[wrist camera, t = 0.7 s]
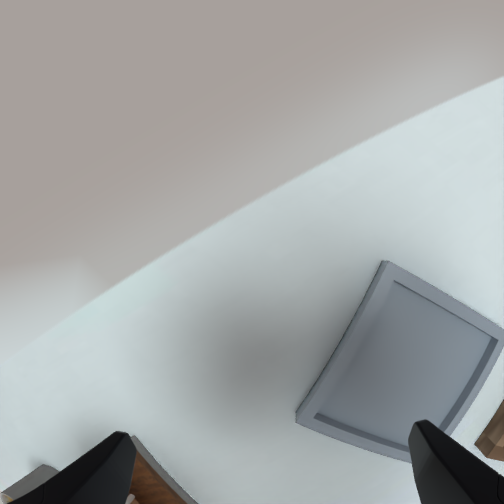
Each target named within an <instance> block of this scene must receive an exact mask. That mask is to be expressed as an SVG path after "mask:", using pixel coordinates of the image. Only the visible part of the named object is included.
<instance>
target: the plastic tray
mask: <svg viewBox="0 0 504 504" xmlns="http://www.w3.org/2000/svg"><path fill="white" fill-rule="evenodd" d="M503 347H504V329H502V328H501V327H499V326H498V325H496V324H495V323H493V322H491V321H490V320H488V319H487V318H485V317H484V316H482V315H480V314H479V313H477V312H476V311H474V310H472V309H471V308H469V307H467V306H466V305H464V304H462V303H461V302H459V301H458V300H456V299H454V298H453V297H451V296H449V295H448V294H446V293H444V292H442V291H441V290H439V289H437V288H436V287H434V286H432V285H431V284H429V283H427V282H425V281H424V280H422V279H420V278H418V277H417V276H415V275H413V274H411V273H410V272H408V271H406V270H404V269H402V268H401V267H399V266H397V265H395V264H393V263H392V262H390V261H382V262H381V264H380V266H379V269H378V271H377V273H376V275H375V277H374V279H373V281H372V283H371V285H370V287H369V289H368V291H367V293H366V295H365V297H364V299H363V301H362V303H361V305H360V307H359V308H358V310H357V312H356V314H355V316H354V318H353V320H352V321H351V323H350V325H349V327H348V329H347V331H346V332H345V334H344V336H343V338H342V339H341V341H340V343H339V345H338V346H337V348H336V350H335V352H334V353H333V355H332V357H331V358H330V360H329V362H328V363H327V365H326V367H325V368H324V370H323V371H322V373H321V375H320V376H319V378H318V379H317V381H316V383H315V384H314V386H313V387H312V389H311V390H310V392H309V393H308V395H307V396H306V398H305V400H304V401H303V403H302V404H301V405H300V407H299V408H298V410H297V411H296V420H295V423H297V424H300V425H302V426H304V427H307V428H309V429H312V430H314V431H317V432H319V433H321V434H324V435H327V436H329V437H332V438H334V439H337V440H340V441H342V442H345V443H348V444H351V445H354V446H356V447H359V448H362V449H365V450H368V451H371V452H374V453H378V454H381V455H384V456H387V457H391V458H394V459H398V460H401V461H405V462H408V463H412V461H411V456H410V450H409V445H408V437H409V434H410V432H411V429H412V426H413V424H414V423H415V422H416V421H419V420H423V419H427V420H429V421H430V422H431V423H433V424H434V425H435V426H437V427H438V428H439V429H441V430H442V431H443V432H444V433H446V434H447V435H448V436H450V435H451V434H452V433H453V431H454V430H455V428H456V427H457V426H458V424H459V423H460V421H461V420H462V418H463V417H464V415H465V414H466V412H467V411H468V409H469V408H470V406H471V405H472V403H473V401H474V400H475V398H476V397H477V395H478V393H479V392H480V390H481V388H482V387H483V385H484V383H485V381H486V380H487V378H488V376H489V374H490V372H491V370H492V369H493V367H494V365H495V363H496V361H497V359H498V357H499V355H500V353H501V351H502V349H503Z"/></svg>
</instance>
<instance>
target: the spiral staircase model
mask: <svg viewBox="0 0 504 504" xmlns="http://www.w3.org/2000/svg"><path fill="white" fill-rule="evenodd" d="M131 439H132V441H133V443H134V444H135V446H136V449H137V454H136V459H135V464H134V470H133V475H132V481H131V486H130V490H129V494H128V497H127V500H126V503H125V504H197V503H196V502H195V501H194V500H193V499H192V498H191V497H190V496H189V495H188V494H187V493H186V492H185V491H184V490H183V489H182V488H181V487H180V486H179V485H178V484H177V483H176V482H175V481H174V480H173V479H172V478H171V477H170V476H169V474H168V473H167V472H166V471H165V470H164V469H163V468H162V467H161V466H160V465H159V464H158V462H157V461H156V460H155V459H154V458H153V457H152V456H151V454H150V453H149V452H148V451H147V450H146V448H145V447H144V446H143V445H142V444H141V442H140V441H139V440H138V439H137V437H136V436H132V437H131ZM82 456H83V455H82Z"/></svg>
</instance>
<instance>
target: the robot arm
mask: <svg viewBox="0 0 504 504" xmlns="http://www.w3.org/2000/svg"><path fill="white" fill-rule="evenodd" d="M408 445H409V450H410V456H411V461H412V467H413V473H414V479H415V483H416V487H417V490H418V494H419V497H420V501H421V504H504V477H503V476H502V475H501V474H498V472H496V471H495V470H494V469H492V468H491V467H489V466H488V465H487V464H485V463H484V462H483V461H481V460H480V459H479V458H477V457H476V456H475V455H473V454H472V453H471V452H469V451H468V450H467V449H465V448H464V447H463V446H461V445H460V444H459V443H458V442H456V441H455V440H454V439H452V438H451V437H450V436H448V435H447V434H446V433H444V432H443V431H442V430H441V429H439V428H438V427H437V426H435V425H434V424H433V423H431V422H430V421H429V420H427V419H423V420H419V421H416V422H415V423H414V424H413V426H412V429H411V432H410V434H409V437H408ZM136 454H137V449H136V446H135V444H134V443H133V441H132V439H131V437H130V436H129V434H128V433H126V432H120V431H116V432H114V433H113V434H111V435H110V436H109V437H107V438H106V439H105V440H103V441H102V442H100V443H99V444H98V445H96V446H95V447H94V448H92V449H91V450H90V451H88V452H87V453H86V454H84V455H83V456H81V457H80V458H79V459H77V460H76V461H74V462H73V463H72V464H70V465H69V466H67V467H66V468H64V469H63V470H62V471H60V472H59V473H57V474H56V475H54V476H53V477H51V478H50V479H49V480H47V481H46V482H45V483H42V484H41V485H39V486H38V487H36V488H35V489H33V490H32V491H30V492H28V493H27V494H25V495H23V496H21V497H19V498H17V499H15V500H13V501H11V502H9V503H7V504H125V503H126V500H127V497H128V494H129V490H130V486H131V481H132V475H133V470H134V464H135V459H136Z"/></svg>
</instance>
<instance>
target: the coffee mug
mask: <svg viewBox="0 0 504 504" xmlns="http://www.w3.org/2000/svg"><path fill="white" fill-rule="evenodd" d="M57 473H59V471H57V470H56V469H54V468H52V467H50V466H47V465H41V466H40V467H38V468H37V469H35V470H34V471H32V472H31V473H29V474H28V475H26V476H25V477H24V478H22V479H21V480H19V481H18V482H16V483H15V484H13V485H12V486H10V487H9V488H7V489H6V490H4V491H3V492H1V494H0V497H1V500H2V502H3V504H7V503H9V502H11V501H13V500H15V499H17V498H19V497H21V496H23V495H25V494H27V493H28V492H30V491H32V490H33V489H35V488H36V487H38V486H39V485H41V484H42V483H45V482H46V481H47V480H49V479H50V478H51V477H53V476H54V475H56V474H57Z"/></svg>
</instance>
